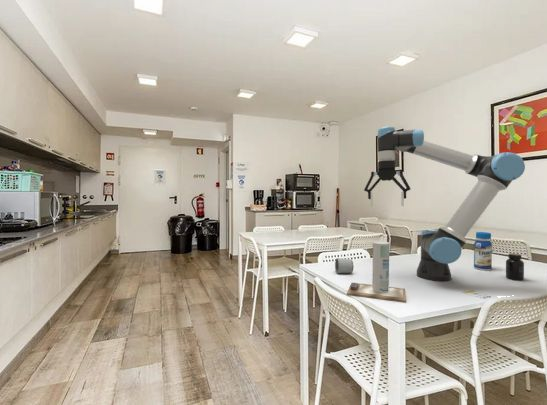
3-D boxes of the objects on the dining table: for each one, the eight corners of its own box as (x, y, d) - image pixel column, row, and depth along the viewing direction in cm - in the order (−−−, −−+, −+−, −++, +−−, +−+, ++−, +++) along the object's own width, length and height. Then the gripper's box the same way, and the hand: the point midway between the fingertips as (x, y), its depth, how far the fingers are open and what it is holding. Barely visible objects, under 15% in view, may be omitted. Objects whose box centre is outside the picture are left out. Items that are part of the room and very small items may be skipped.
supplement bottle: (519, 277, 145) (520, 253, 144) (526, 281, 138) (527, 256, 138) (503, 276, 147) (503, 252, 147) (509, 280, 141) (509, 255, 140)
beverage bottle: (485, 267, 166) (486, 231, 165) (495, 271, 157) (496, 233, 157) (470, 266, 166) (470, 231, 166) (478, 270, 158) (479, 233, 157)
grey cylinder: (354, 274, 149) (354, 259, 149) (338, 274, 149) (338, 259, 148) (347, 269, 160) (348, 255, 159) (332, 269, 159) (333, 255, 159)
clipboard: (404, 290, 125) (404, 285, 125) (406, 302, 111) (406, 296, 111) (351, 284, 133) (351, 279, 133) (346, 294, 119) (346, 289, 119)
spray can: (382, 294, 117) (383, 244, 116) (368, 290, 122) (369, 242, 122) (392, 291, 121) (392, 242, 120) (378, 287, 126) (378, 240, 126)
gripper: (414, 160, 138) (414, 205, 138) (358, 162, 145) (359, 205, 146) (416, 158, 130) (417, 206, 131) (358, 161, 138) (359, 206, 139)
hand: (386, 206), depth 138 cm, fingers open, 13 cm apart
